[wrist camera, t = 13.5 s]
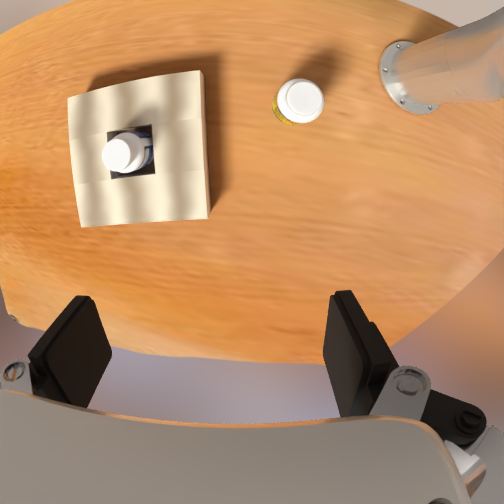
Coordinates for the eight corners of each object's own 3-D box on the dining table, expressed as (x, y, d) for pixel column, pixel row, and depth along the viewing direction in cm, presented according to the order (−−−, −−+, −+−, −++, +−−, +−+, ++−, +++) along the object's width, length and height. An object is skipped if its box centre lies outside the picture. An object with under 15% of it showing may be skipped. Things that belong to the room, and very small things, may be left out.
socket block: (204, 76, 35) (199, 70, 31) (211, 210, 43) (207, 218, 39) (82, 99, 35) (67, 98, 31) (94, 218, 43) (81, 227, 39)
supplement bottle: (264, 112, 37) (269, 105, 28) (283, 81, 36) (295, 65, 26) (298, 132, 39) (314, 131, 29) (317, 101, 37) (338, 91, 27)
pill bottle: (119, 145, 38) (89, 149, 29) (146, 125, 37) (122, 123, 28) (136, 174, 39) (110, 184, 31) (164, 154, 39) (143, 160, 30)
